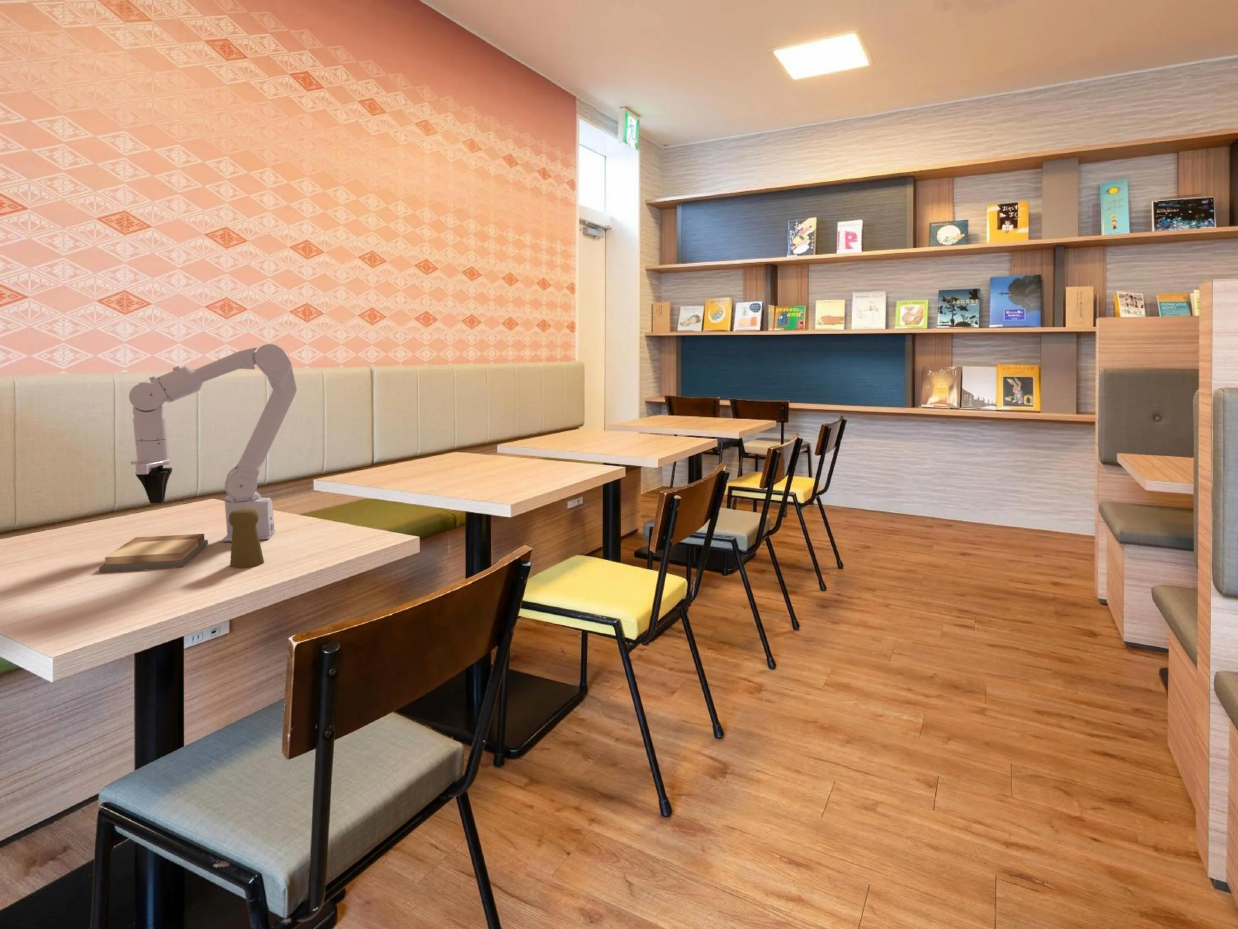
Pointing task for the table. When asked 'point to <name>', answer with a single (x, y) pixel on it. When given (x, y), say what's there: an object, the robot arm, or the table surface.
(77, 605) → the table surface
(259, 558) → the olive pawn
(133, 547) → the oak plank
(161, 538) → the brown curved block
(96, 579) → the table surface
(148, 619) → the table surface
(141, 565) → the rubber mat
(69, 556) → the table surface
